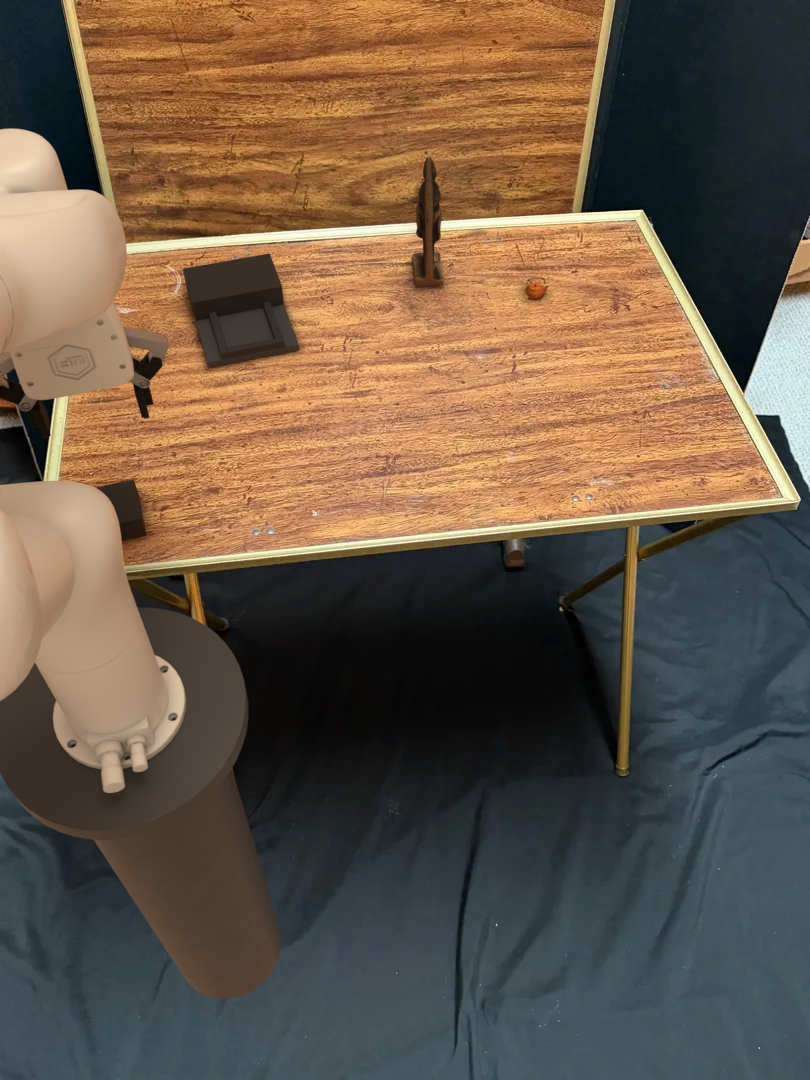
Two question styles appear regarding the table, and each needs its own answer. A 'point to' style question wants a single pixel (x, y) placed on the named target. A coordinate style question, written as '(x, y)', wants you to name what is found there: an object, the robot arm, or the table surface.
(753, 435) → the table surface
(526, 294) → the small kettle
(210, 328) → the pad base
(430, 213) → the statue
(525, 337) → the table surface
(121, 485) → the loose pad
